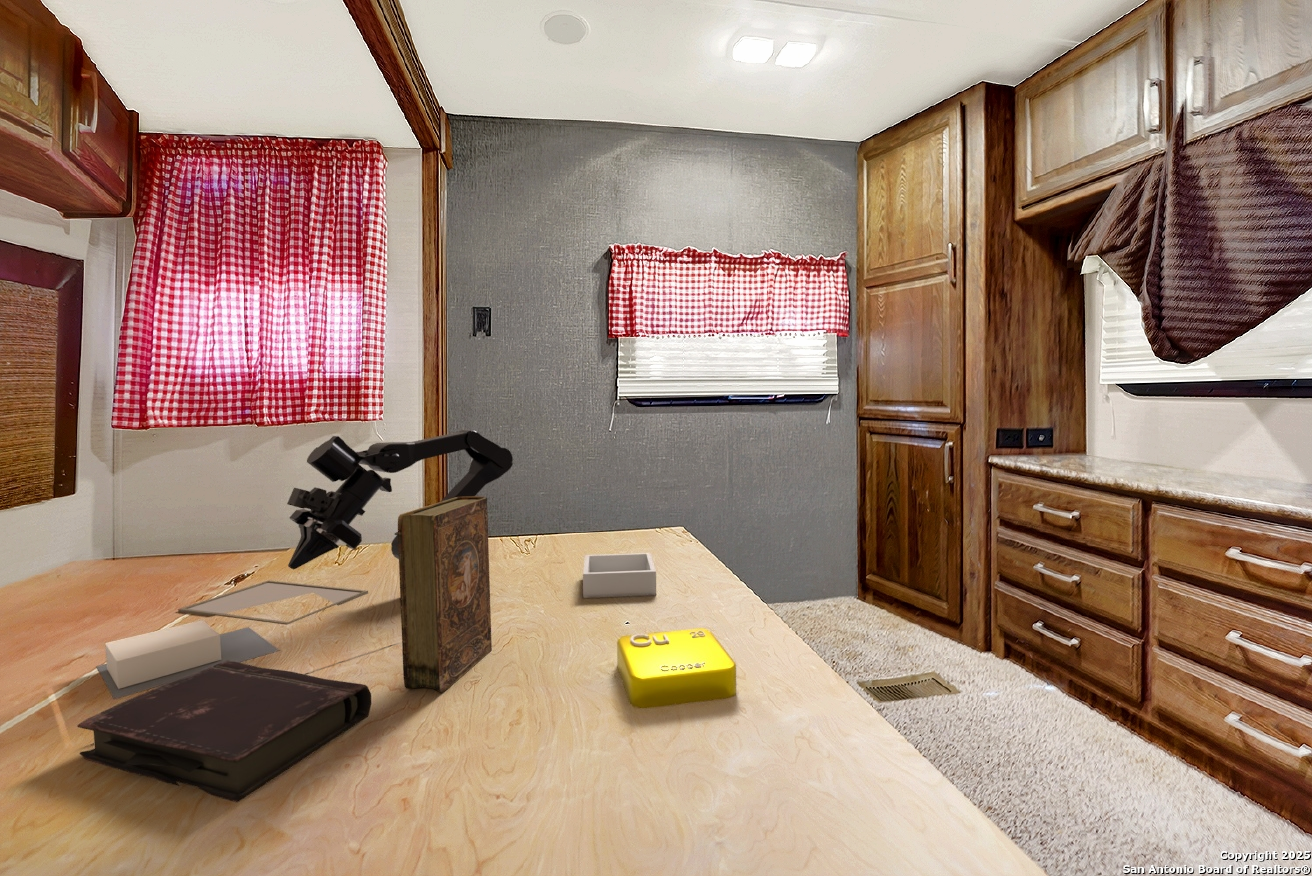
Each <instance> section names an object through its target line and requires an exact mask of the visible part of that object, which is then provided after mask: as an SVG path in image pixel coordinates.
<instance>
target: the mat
mask: <svg viewBox="0 0 1312 876" xmlns="http://www.w3.org/2000/svg"><path fill="white" fill-rule="evenodd" d="M219 634H220V645H221V660H218V661H215V662H211V663H208V664H204V665H201V666H197V667H194V668H190V669H187V670H183V671H180V672H176V673H173V674H169V675H166V676H162V677H159V678H155V679H152V680H148V681H145V682H141V683H138V684H134V685H131V686H127V687H124V688H120V689H118V687H117V685H116V684H115V682H114V680H113V678H112V677H111V675H110V673H109V671H108V670H107V663H104V664H100V665H97V666H96V669H97V670H98V672H99V674H100V676H101V678H102V679H103V681H104V683H105V685H106V687H107V690H108V691H109V693H110V694H111V696H112V698H113V700H116V699H120V698H123V697H127V696H131V695H134V694H138V693H141V692H144V691H147V690H148V691H149V690H152V689H155V688H158V687H160V686H163V685H165V684H168V683H171V682H174V681H176V680H179V679H182V678H184V677H187V676H190V675H193V674H195V673H198V672H200V671H202V670H205V669H207V668H209V667H213V666H214V665H217V664H219V663H221V662H224V661H226V660H230V661H235V662H239V663H243V662H245V661H249V660H253V659H256V658H260V657H263V656H267V655H270V654H273V653H276V652H280V651H281V650H280V649H279V648H277V647H276V646H275V645H273V644H272V643H271V642H269V641H268V640H267V639H265V638H264V637H262V636H261V635H260V634H259V633H257V632H256V631H254V629H252V628H251V627H249V626H247V627H243V628H239V629H236V630H231V631H229V632H224V633H219Z"/></svg>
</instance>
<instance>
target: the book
mask: <svg viewBox="0 0 1312 876" xmlns="http://www.w3.org/2000/svg"><path fill="white" fill-rule="evenodd" d="M488 520H489V519H488V498H487V496H478V495H476V496H464V497H455V498H452V499H448V500H445V501H442V502H440V501H439V502H435V503H432V504H430V505H426V506H423V507H419V508H416V509H413V510H410V511H407V512H404V513H400V514H399V515H398V517H397V532H398V549H399V559H398V569H399V590H400V591H399V596H400V599H399V600H400V621H401V622H400V623H401V626H400V627H401V644H402V646H401V647H402V648H401V649H402V673H403V684H404V688H405V689H407V690H412V689H418V688H419V689H420V688H428V689H434V690H436V691H438V692H439V693H444V692H446V691H447V690H448V689H449V688H450V687H451V686H452V685H454V684H455V683H456V682H457V681H459V680H460V679H461V678H462V677H463V676H464V675H466V674H467V673H468V672H469V671H471V669H472V668H473V667H474V666H476V665H477V664H478V663H479V662H480V661H481V660H482V659H483V658H485V657H486V656H487V655H488V654H489V653H490V652H492V650H493V649H492V646H493V645H492V619H491V618H492V617H491V616H492V613H491V611H492V610H491V587H490V586H491V585H490V581H491V580H490V557H489V556H490V554H489V553H490V552H489V551H490V550H489V523H488Z"/></svg>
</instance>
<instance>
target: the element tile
mask: <svg viewBox="0 0 1312 876" xmlns="http://www.w3.org/2000/svg"><path fill="white" fill-rule="evenodd" d="M616 657H617V658H616V663H617V665H616V666H617V669H618V672H619V675H620V679H621V681H622V685H623V687H624V689H625V691H624V692H625V694H626V696H627V699H628V703H629V704H630V705H631V706H632V707H634V708H637V709H653V708H661V707H669V706H676V705H678V706H679V705H685V704H687V705H688V704H693V703H702V702H711V701H718V700H724V699H730V698H732V697H735V696H736V694H737V665H736V661H734V659H733V658H732V657H731V656H730V654H729V653H728V652H727V650H726V649H725V647H723V645H722V644H721V643H720V642H719V640H718V639H717V637H716V636H715V635H714V634H713V632H711V631H710V630H708V629H706V628H693V629H692V628H689V629H680V630H671V631H661V632H660V631H659V632H650V633H639V634H631V635H623V636H620V637H619V638H618V639H617V641H616Z"/></svg>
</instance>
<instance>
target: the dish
mask: <svg viewBox="0 0 1312 876" xmlns="http://www.w3.org/2000/svg"><path fill="white" fill-rule="evenodd" d="M583 563H584V564H583V570H582V598H583V599H595V598H619V597H643V596H645V597H646V596H647V597H648V596H657V570H656V566H655V564H654V560H653V557H652V553H651V552H637V553H635V552H634V553H633V552H632V553H611V554H609V553H608V554H605V553H603V554H585V555H584V561H583Z"/></svg>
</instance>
